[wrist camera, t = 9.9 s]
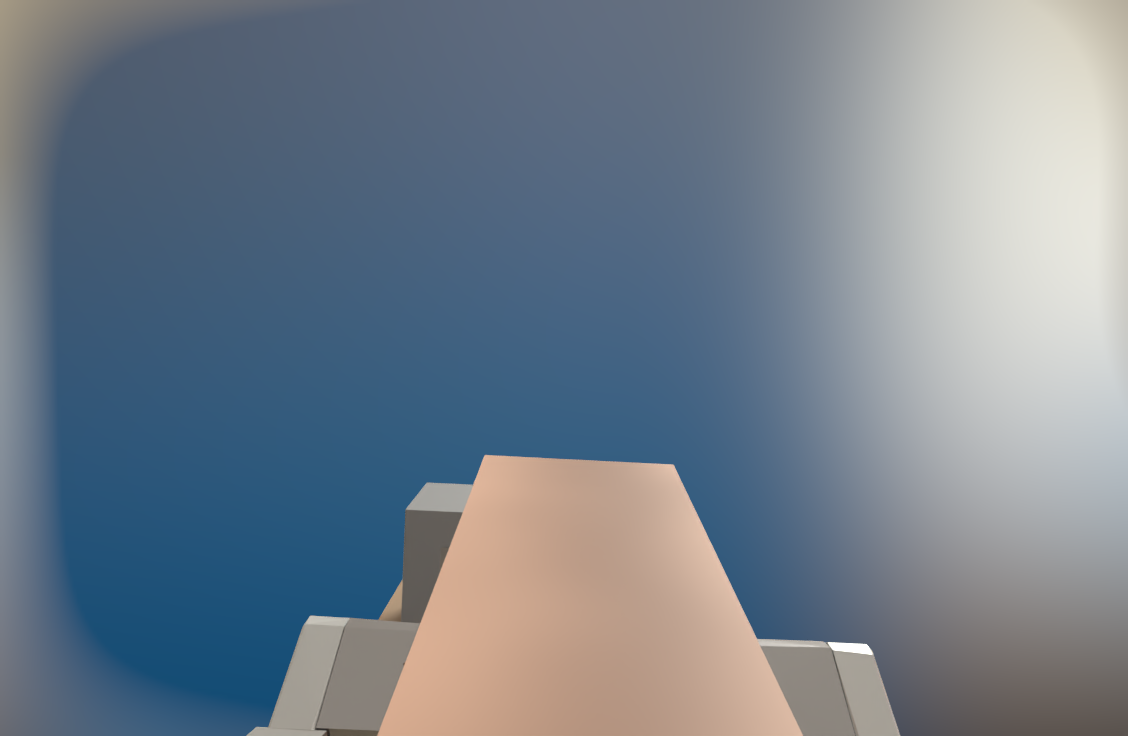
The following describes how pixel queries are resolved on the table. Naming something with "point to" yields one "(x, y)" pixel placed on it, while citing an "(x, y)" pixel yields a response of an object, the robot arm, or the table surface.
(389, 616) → the plant stand
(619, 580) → the terracotta bar
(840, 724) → the robot arm
